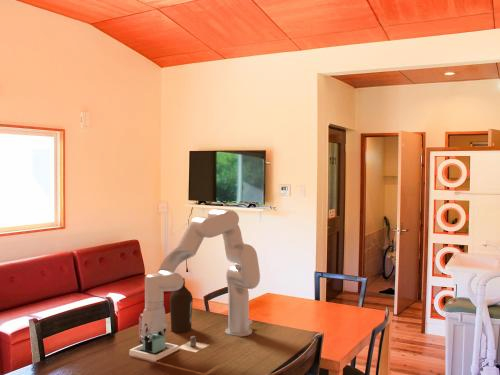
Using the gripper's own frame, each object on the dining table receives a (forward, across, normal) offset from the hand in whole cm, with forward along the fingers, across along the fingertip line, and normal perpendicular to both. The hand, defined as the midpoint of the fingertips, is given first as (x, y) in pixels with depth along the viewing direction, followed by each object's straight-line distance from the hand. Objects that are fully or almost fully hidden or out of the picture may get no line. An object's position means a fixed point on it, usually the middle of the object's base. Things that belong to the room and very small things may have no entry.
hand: (154, 347), depth 196 cm
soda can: (+3, -10, -13) cm, 17 cm away
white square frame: (+2, 0, 0) cm, 2 cm away
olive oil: (+3, -28, -8) cm, 29 cm away
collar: (+1, 0, 0) cm, 1 cm away
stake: (+2, -13, +10) cm, 17 cm away
